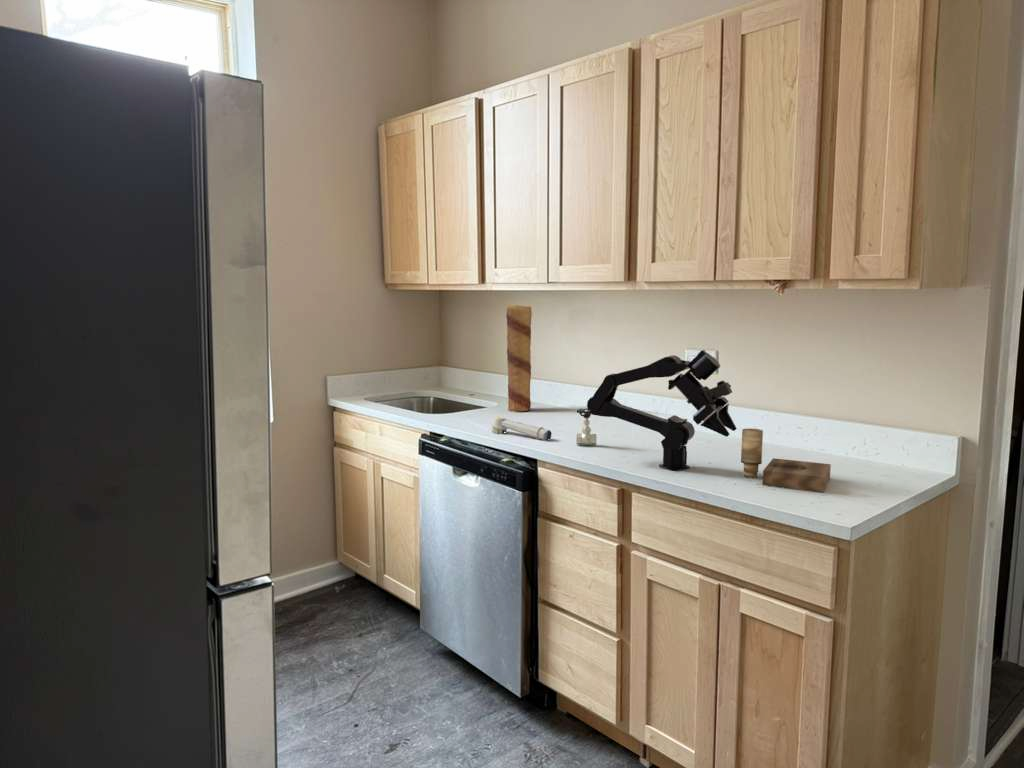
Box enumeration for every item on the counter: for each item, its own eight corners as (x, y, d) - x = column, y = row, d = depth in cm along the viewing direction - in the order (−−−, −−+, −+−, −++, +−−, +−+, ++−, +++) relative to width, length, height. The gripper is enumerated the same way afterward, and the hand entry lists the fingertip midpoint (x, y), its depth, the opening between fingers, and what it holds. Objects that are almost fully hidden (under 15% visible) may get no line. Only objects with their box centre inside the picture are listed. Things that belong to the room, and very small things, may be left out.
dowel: (752, 480, 196) (754, 433, 194) (736, 475, 201) (737, 429, 199) (765, 477, 199) (767, 430, 197) (749, 473, 204) (750, 427, 202)
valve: (576, 443, 244) (576, 408, 243) (596, 443, 243) (596, 408, 242) (576, 447, 238) (576, 411, 236) (596, 447, 237) (596, 411, 235)
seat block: (762, 485, 191) (763, 470, 190) (772, 472, 205) (773, 458, 204) (823, 492, 184) (824, 477, 183) (829, 478, 197) (830, 464, 197)
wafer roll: (510, 407, 318) (509, 305, 312) (533, 408, 315) (533, 305, 310) (503, 411, 308) (503, 305, 302) (527, 412, 305) (527, 305, 300)
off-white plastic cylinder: (544, 431, 246) (489, 413, 261) (542, 449, 248) (487, 431, 263) (553, 428, 250) (499, 411, 265) (551, 447, 252) (497, 429, 267)
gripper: (706, 375, 193) (747, 419, 189) (722, 368, 209) (760, 409, 206) (676, 402, 198) (715, 445, 194) (694, 394, 214) (730, 433, 210)
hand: (731, 432), depth 201 cm, fingers open, 9 cm apart
